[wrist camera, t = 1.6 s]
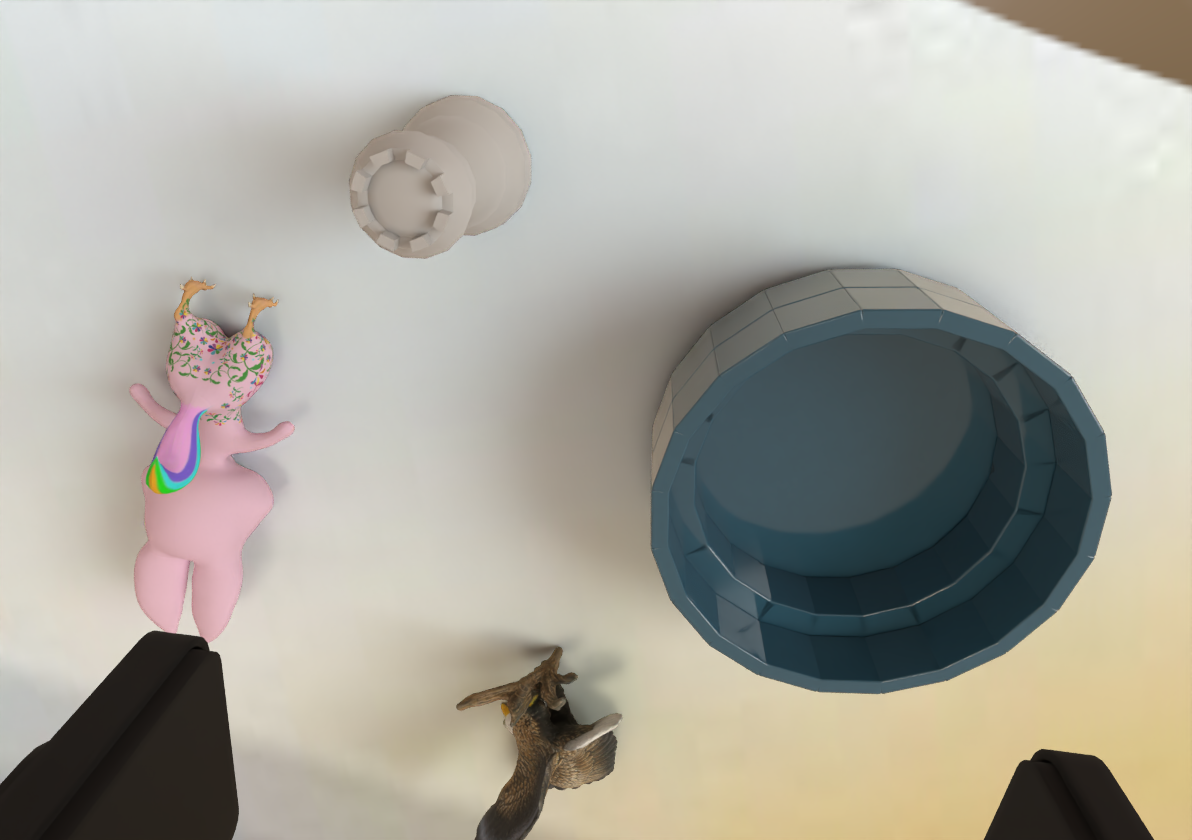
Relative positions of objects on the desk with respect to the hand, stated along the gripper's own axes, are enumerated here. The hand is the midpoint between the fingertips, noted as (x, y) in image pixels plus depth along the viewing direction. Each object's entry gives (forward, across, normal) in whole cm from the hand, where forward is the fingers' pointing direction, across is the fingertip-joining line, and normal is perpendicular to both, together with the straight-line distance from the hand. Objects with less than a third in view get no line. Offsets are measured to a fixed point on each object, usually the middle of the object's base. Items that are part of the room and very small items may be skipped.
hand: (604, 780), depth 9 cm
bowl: (+21, -8, +5) cm, 23 cm away
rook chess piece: (+21, +6, -4) cm, 22 cm away
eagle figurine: (+21, +2, +20) cm, 29 cm away
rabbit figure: (+21, +16, +9) cm, 28 cm away
